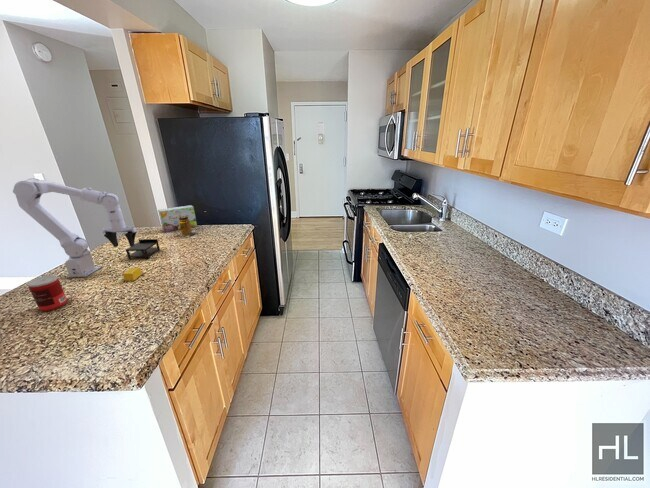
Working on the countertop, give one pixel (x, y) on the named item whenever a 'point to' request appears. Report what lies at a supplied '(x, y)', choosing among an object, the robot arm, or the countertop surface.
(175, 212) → the snack box
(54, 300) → the canned food
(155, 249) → the rack
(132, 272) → the yellow block
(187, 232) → the condiment
